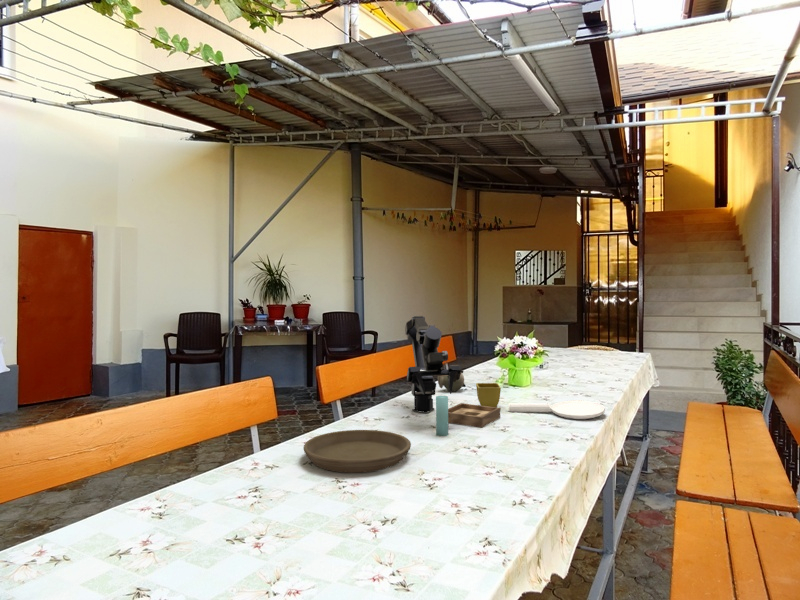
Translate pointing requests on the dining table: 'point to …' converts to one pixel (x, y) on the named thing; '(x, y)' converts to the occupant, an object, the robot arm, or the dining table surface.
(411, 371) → the robot arm
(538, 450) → the dining table surface
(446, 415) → the peg
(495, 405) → the flower pot
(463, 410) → the bore box
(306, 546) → the dining table surface
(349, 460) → the plant saucer
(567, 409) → the white piece
